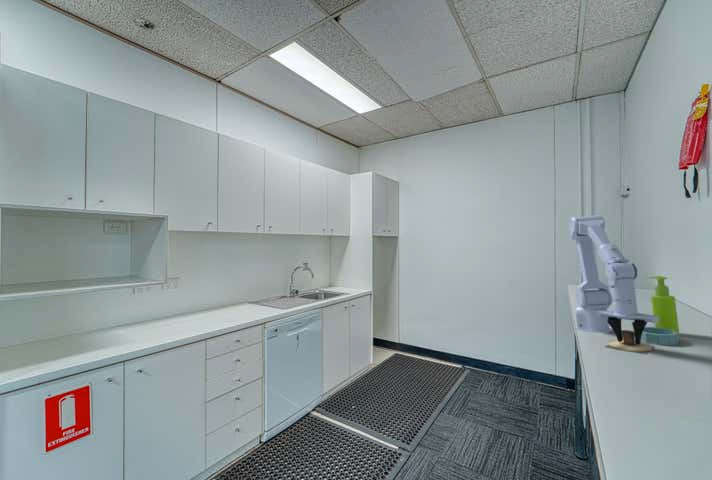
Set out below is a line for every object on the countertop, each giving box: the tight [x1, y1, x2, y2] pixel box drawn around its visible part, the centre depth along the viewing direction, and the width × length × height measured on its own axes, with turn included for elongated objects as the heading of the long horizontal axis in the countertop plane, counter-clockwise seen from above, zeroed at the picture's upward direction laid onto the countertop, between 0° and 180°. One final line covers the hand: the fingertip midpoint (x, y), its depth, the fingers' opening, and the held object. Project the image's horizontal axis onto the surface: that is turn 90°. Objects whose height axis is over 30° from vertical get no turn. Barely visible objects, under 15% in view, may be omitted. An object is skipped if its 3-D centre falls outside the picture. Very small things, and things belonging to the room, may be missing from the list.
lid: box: [607, 329, 653, 353], centre depth 96 cm, size 10×10×5 cm
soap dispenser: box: [648, 275, 680, 337], centre depth 107 cm, size 6×7×20 cm
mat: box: [604, 344, 656, 355], centre depth 96 cm, size 10×10×1 cm
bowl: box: [641, 326, 680, 346], centre depth 99 cm, size 10×10×4 cm
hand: (629, 342), depth 96 cm, fingers open, 4 cm apart
